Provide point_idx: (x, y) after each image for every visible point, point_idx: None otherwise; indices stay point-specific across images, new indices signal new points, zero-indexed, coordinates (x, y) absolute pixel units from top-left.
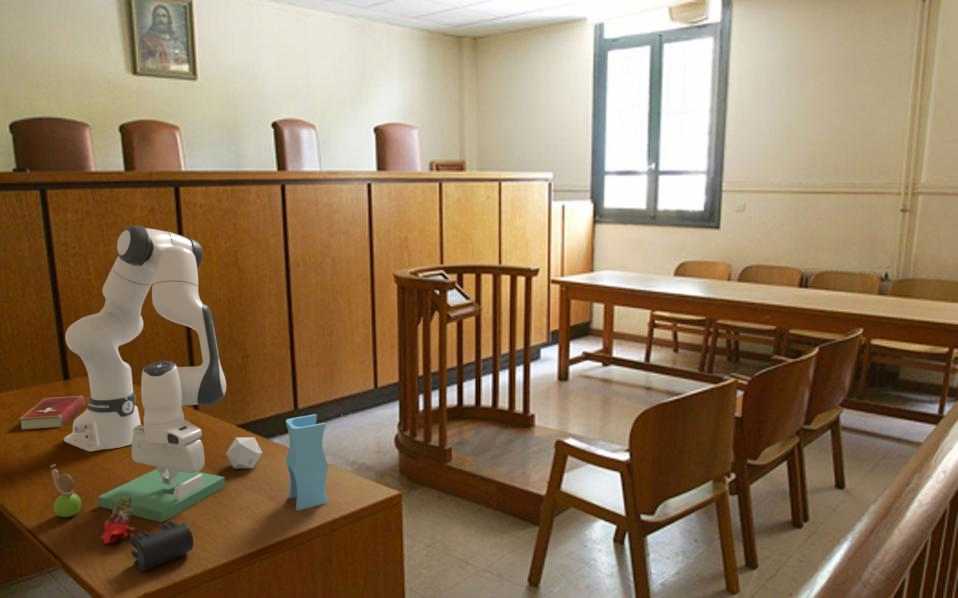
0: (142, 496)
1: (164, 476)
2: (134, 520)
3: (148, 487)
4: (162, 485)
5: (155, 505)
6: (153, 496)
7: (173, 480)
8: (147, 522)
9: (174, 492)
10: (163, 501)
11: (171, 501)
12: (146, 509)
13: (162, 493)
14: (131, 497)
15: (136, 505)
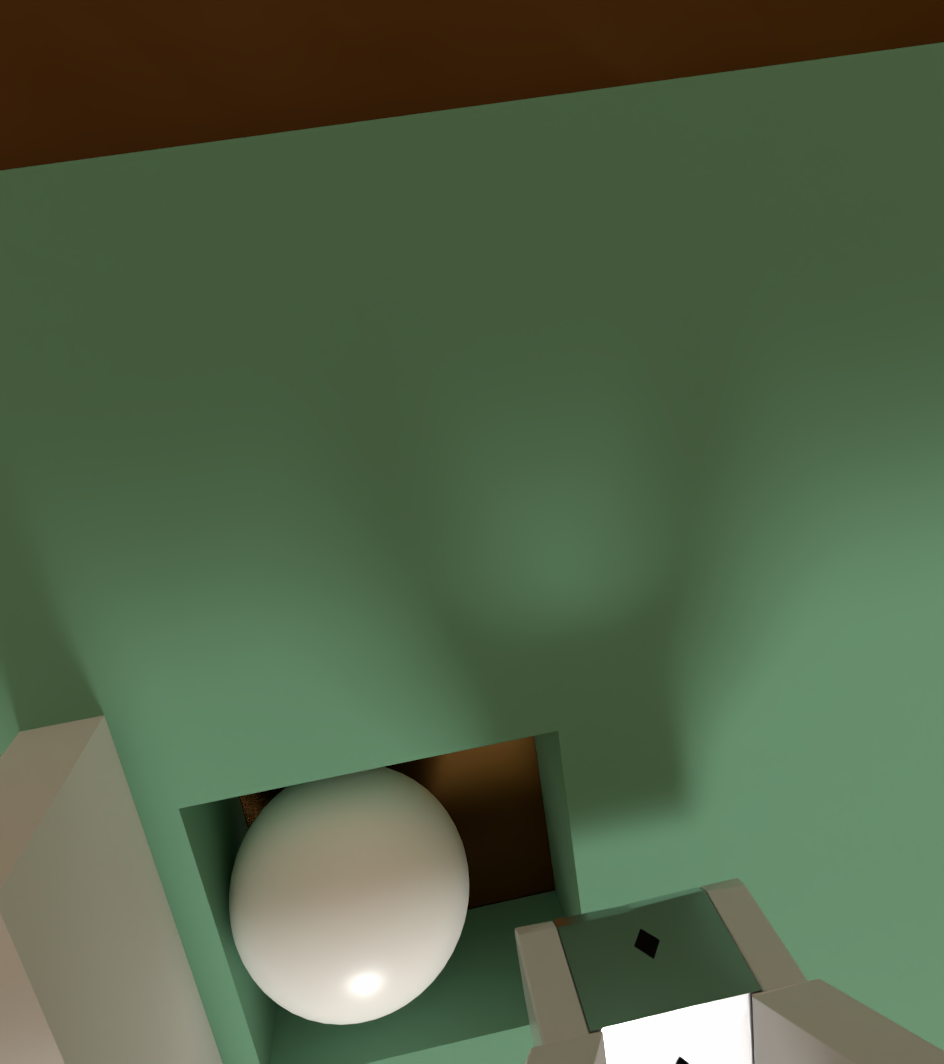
0: (753, 446)
1: (761, 1027)
2: (360, 4)
3: (939, 699)
4: (790, 855)
5: (163, 347)
6: (570, 558)
7: (535, 1039)
8: (86, 81)
9: (373, 838)
10: (207, 544)
11: (73, 628)
12: (192, 146)
13: (536, 711)
14: (909, 305)
15: (515, 120)
